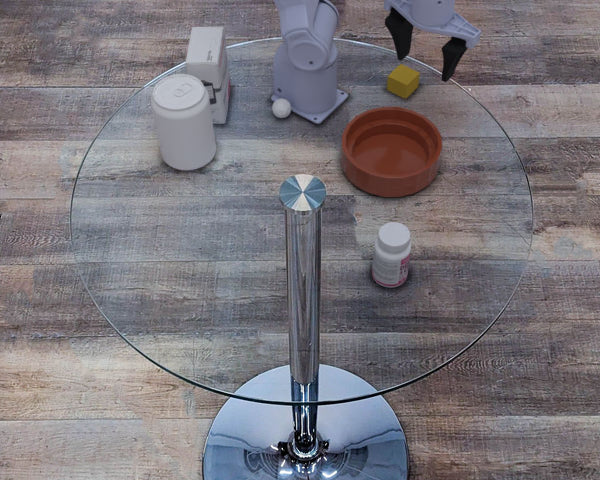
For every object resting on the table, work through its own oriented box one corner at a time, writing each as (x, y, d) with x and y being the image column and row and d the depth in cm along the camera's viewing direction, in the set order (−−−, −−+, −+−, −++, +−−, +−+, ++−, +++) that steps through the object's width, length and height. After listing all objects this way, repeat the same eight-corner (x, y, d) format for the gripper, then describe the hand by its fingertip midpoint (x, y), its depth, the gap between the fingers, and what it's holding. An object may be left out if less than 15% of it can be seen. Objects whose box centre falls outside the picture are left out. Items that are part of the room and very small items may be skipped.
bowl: (321, 170, 127) (321, 148, 123) (377, 116, 133) (378, 93, 130) (403, 215, 122) (405, 193, 118) (457, 156, 128) (461, 133, 124)
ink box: (200, 86, 138) (191, 24, 128) (231, 86, 138) (224, 24, 128) (193, 124, 133) (183, 62, 123) (226, 124, 133) (218, 63, 123)
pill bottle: (405, 291, 114) (410, 251, 107) (369, 285, 115) (372, 245, 108) (409, 263, 117) (415, 222, 110) (374, 257, 117) (378, 216, 111)
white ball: (293, 111, 134) (293, 96, 132) (287, 124, 133) (287, 109, 130) (276, 107, 135) (275, 92, 132) (270, 120, 133) (269, 105, 131)
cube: (386, 89, 137) (387, 75, 134) (399, 77, 138) (400, 63, 136) (405, 99, 135) (407, 85, 133) (418, 86, 137) (420, 72, 135)
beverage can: (150, 155, 129) (136, 92, 120) (190, 126, 133) (180, 63, 123) (187, 181, 126) (176, 120, 116) (227, 151, 129) (220, 89, 120)
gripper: (498, -10, 114) (482, 72, 125) (407, -49, 120) (399, 33, 131) (470, 18, 111) (456, 99, 122) (377, -24, 116) (372, 58, 128)
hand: (425, 67), depth 126 cm, fingers open, 7 cm apart
